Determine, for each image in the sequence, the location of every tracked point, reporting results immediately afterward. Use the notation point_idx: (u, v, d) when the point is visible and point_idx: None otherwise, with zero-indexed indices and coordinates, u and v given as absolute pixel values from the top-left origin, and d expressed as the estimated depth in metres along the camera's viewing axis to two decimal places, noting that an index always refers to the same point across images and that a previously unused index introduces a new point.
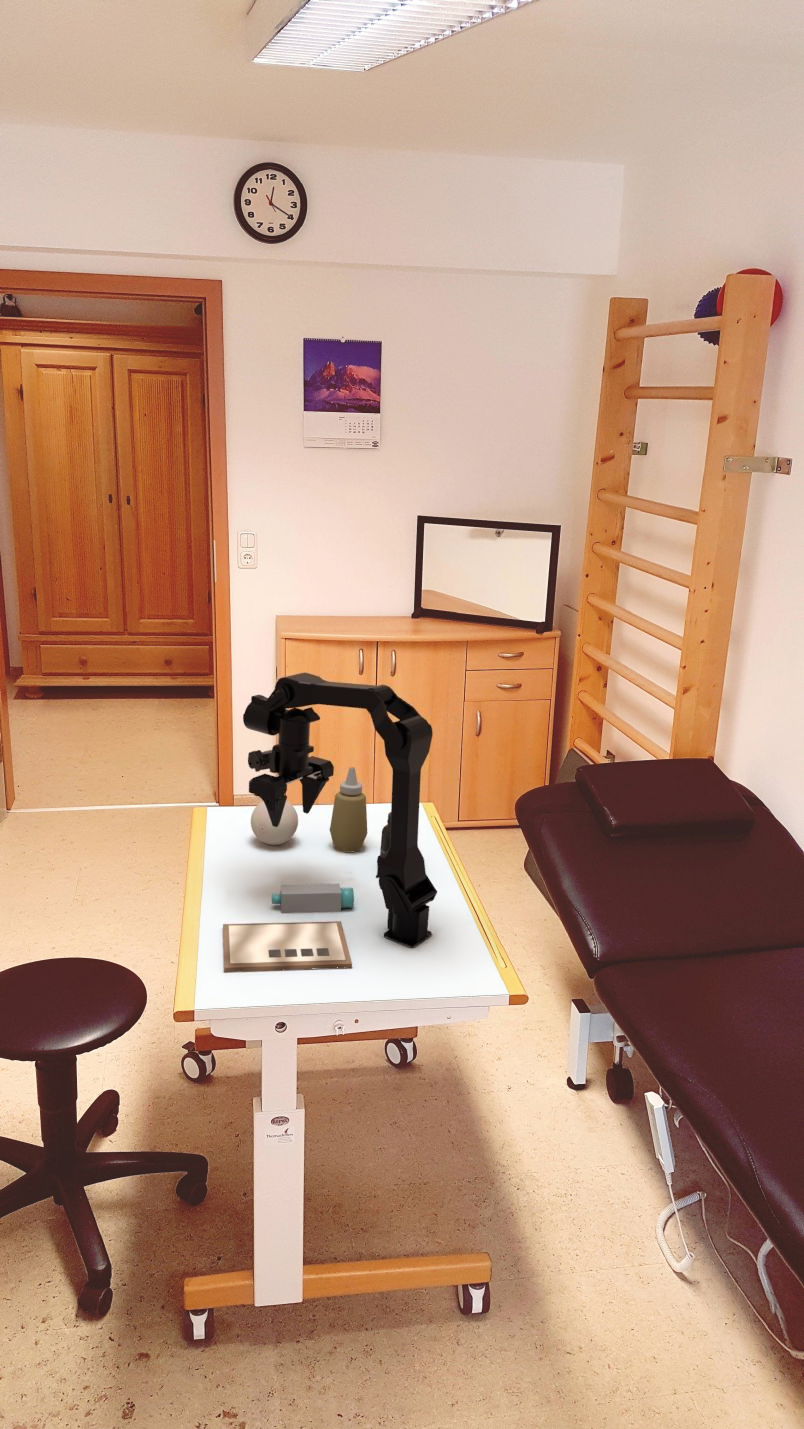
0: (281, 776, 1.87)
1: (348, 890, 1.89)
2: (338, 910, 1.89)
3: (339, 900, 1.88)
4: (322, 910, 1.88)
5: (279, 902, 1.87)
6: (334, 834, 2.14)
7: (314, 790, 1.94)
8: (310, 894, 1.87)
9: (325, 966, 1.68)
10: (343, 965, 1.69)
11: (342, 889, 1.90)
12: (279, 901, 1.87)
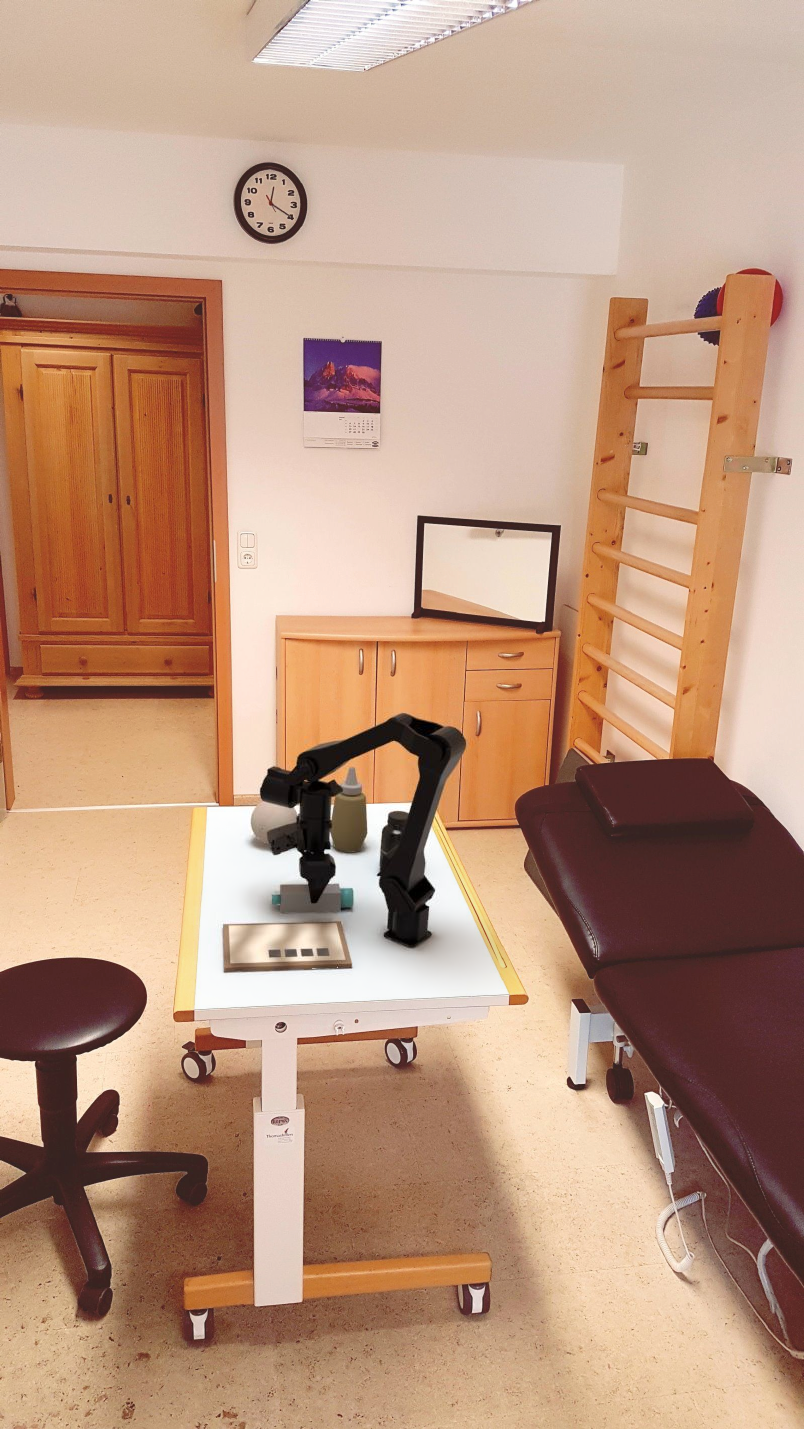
0: (315, 851, 1.83)
1: (348, 890, 1.89)
2: (337, 910, 1.88)
3: (338, 900, 1.88)
4: (322, 910, 1.88)
5: (279, 902, 1.87)
6: (334, 834, 2.14)
7: None
8: None
9: (325, 966, 1.68)
10: (343, 965, 1.69)
11: (342, 889, 1.90)
12: (279, 901, 1.87)
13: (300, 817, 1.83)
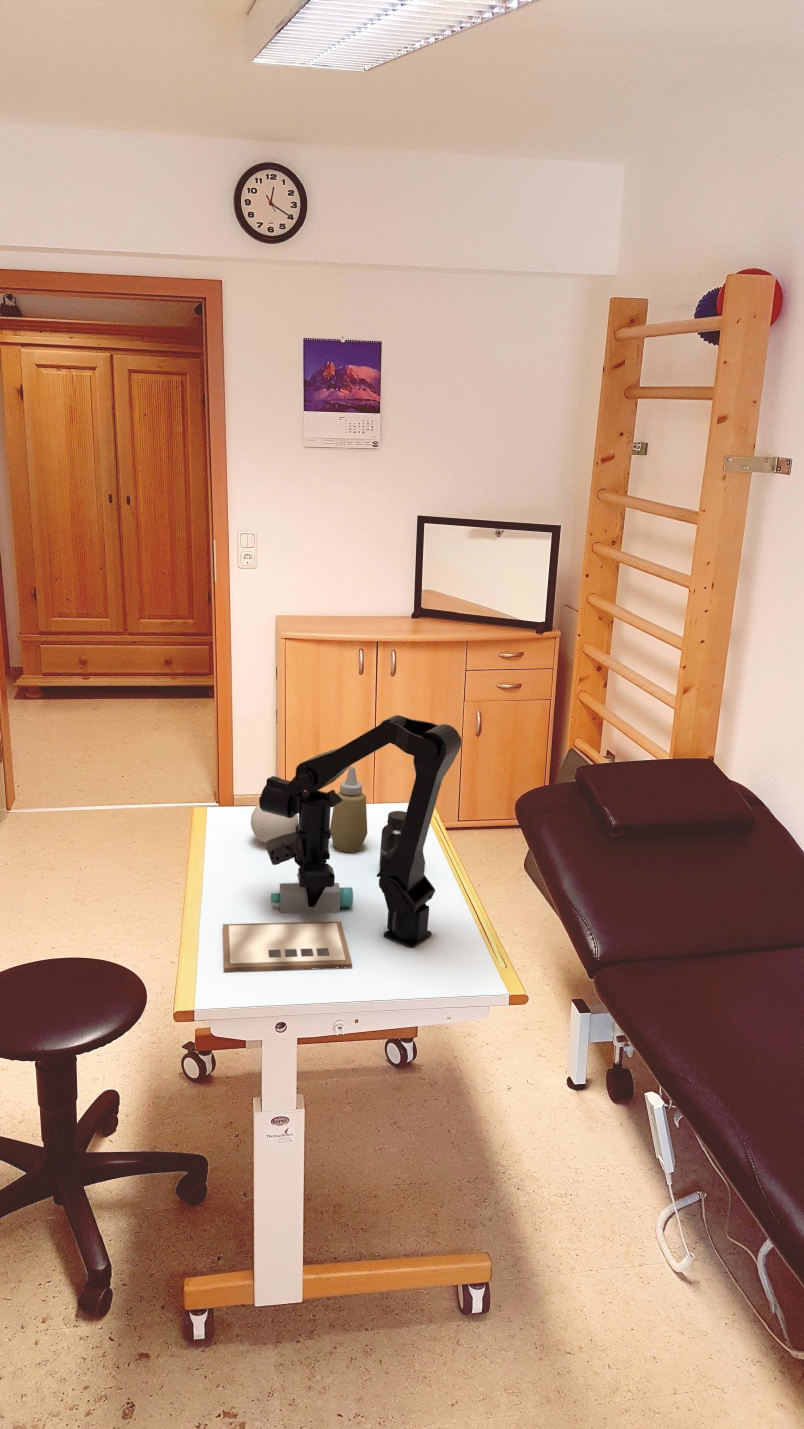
0: (314, 861, 1.84)
1: (348, 890, 1.89)
2: (336, 909, 1.88)
3: (338, 900, 1.88)
4: (321, 909, 1.88)
5: (278, 901, 1.87)
6: (334, 834, 2.14)
7: None
8: None
9: (325, 966, 1.68)
10: (343, 965, 1.69)
11: (341, 888, 1.90)
12: (278, 900, 1.87)
13: (299, 827, 1.84)
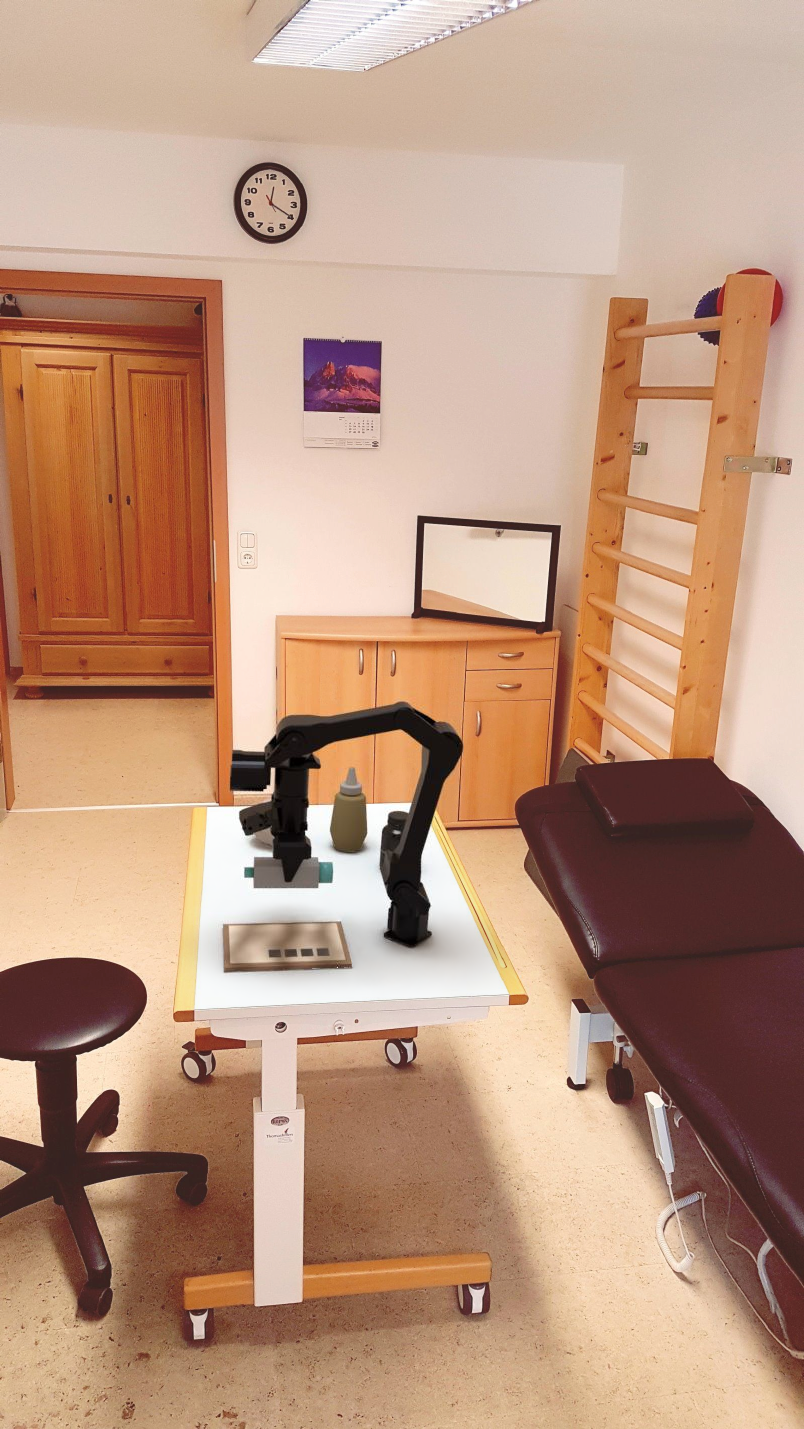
0: (291, 832, 1.69)
1: (327, 864, 1.75)
2: (315, 885, 1.74)
3: (316, 875, 1.73)
4: (298, 885, 1.73)
5: (251, 875, 1.73)
6: (334, 834, 2.14)
7: None
8: None
9: (325, 966, 1.68)
10: (343, 965, 1.69)
11: (320, 863, 1.75)
12: (251, 874, 1.73)
13: (275, 795, 1.70)
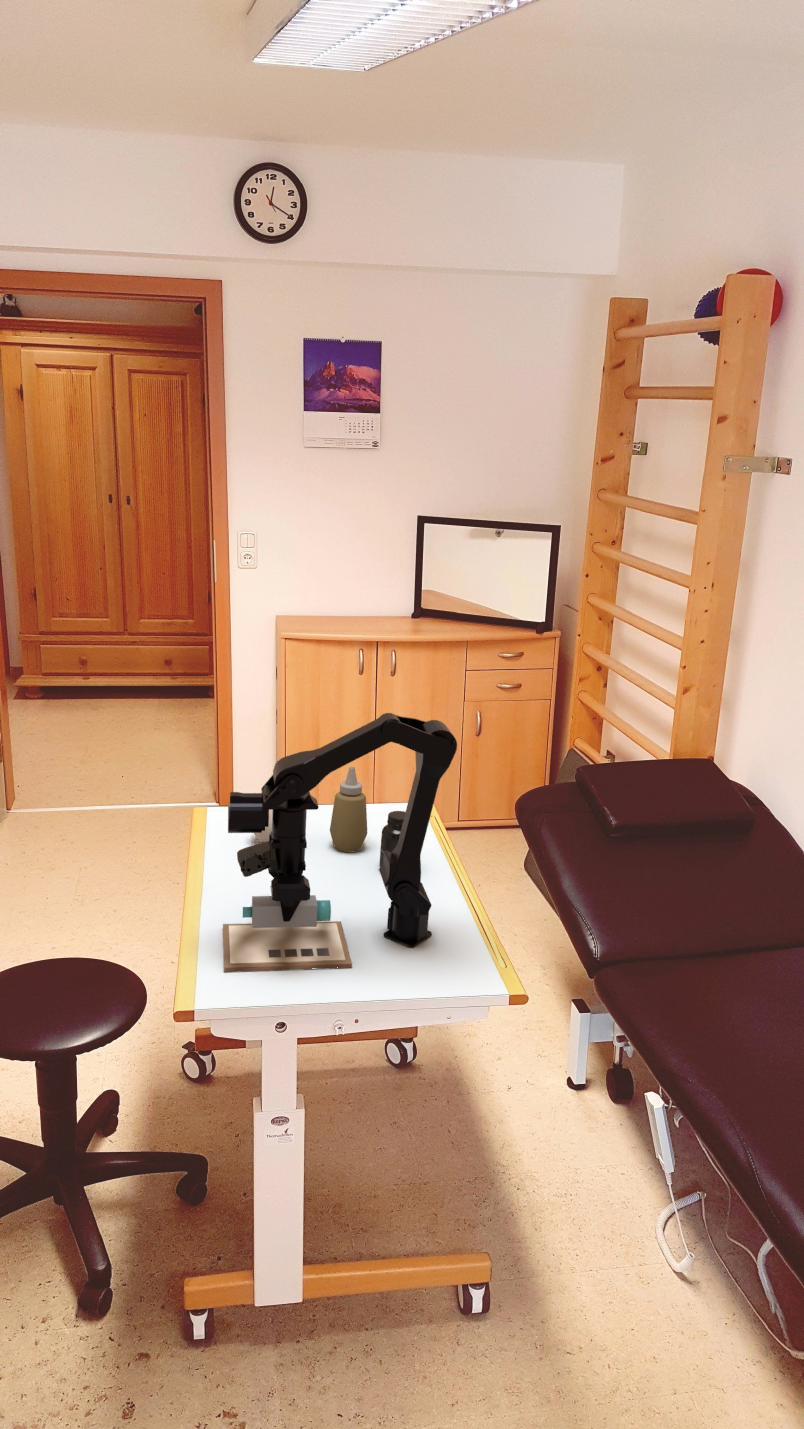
0: (289, 873, 1.70)
1: (325, 903, 1.76)
2: (313, 924, 1.75)
3: (314, 914, 1.75)
4: (296, 924, 1.75)
5: (250, 915, 1.74)
6: (334, 834, 2.14)
7: None
8: None
9: (325, 966, 1.68)
10: (343, 965, 1.69)
11: (318, 901, 1.76)
12: (250, 914, 1.74)
13: (272, 836, 1.71)
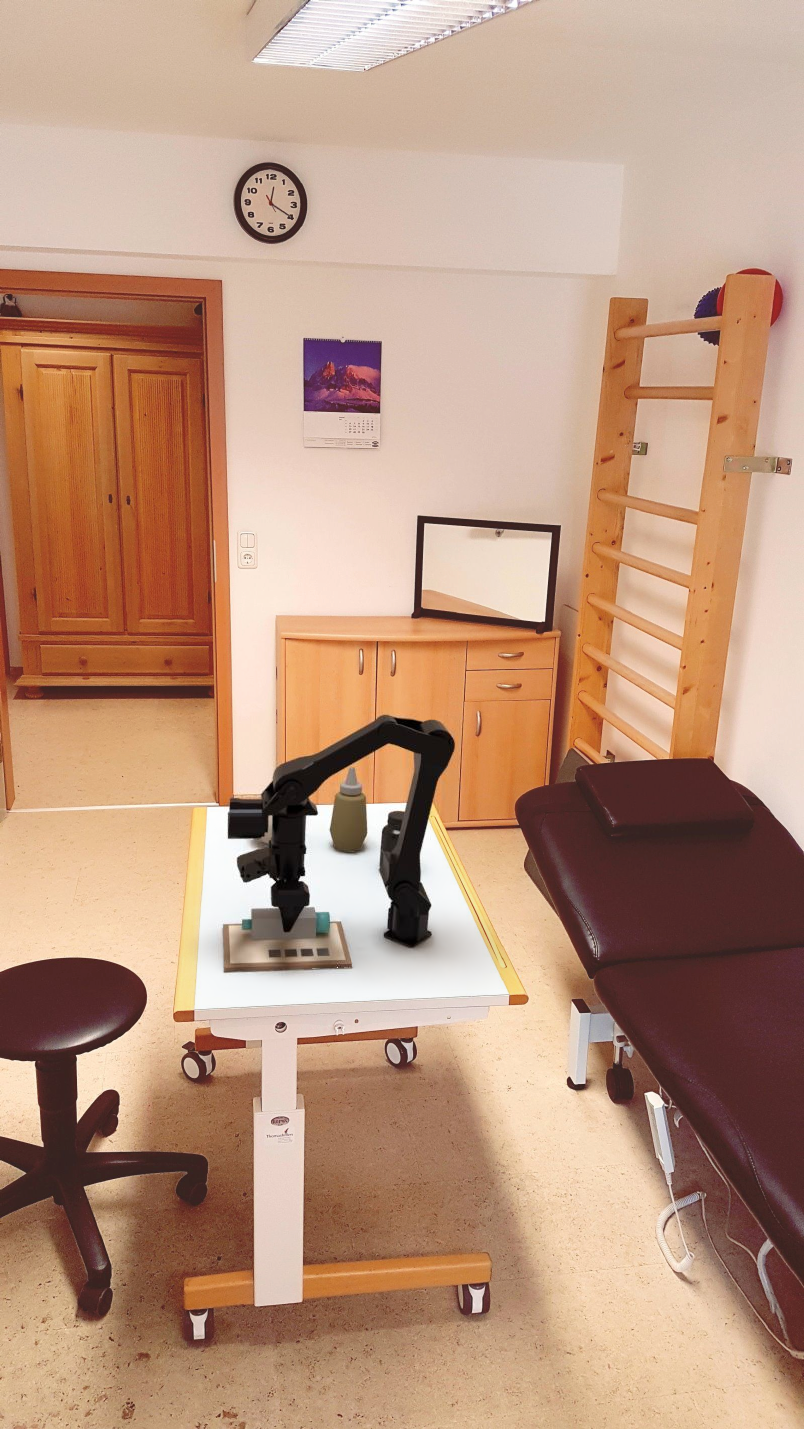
0: (288, 879, 1.71)
1: (324, 915, 1.77)
2: (312, 935, 1.76)
3: (314, 926, 1.75)
4: (296, 936, 1.75)
5: (249, 928, 1.75)
6: (334, 834, 2.14)
7: None
8: None
9: (325, 966, 1.68)
10: (343, 965, 1.69)
11: (317, 913, 1.77)
12: (249, 927, 1.74)
13: (272, 842, 1.71)
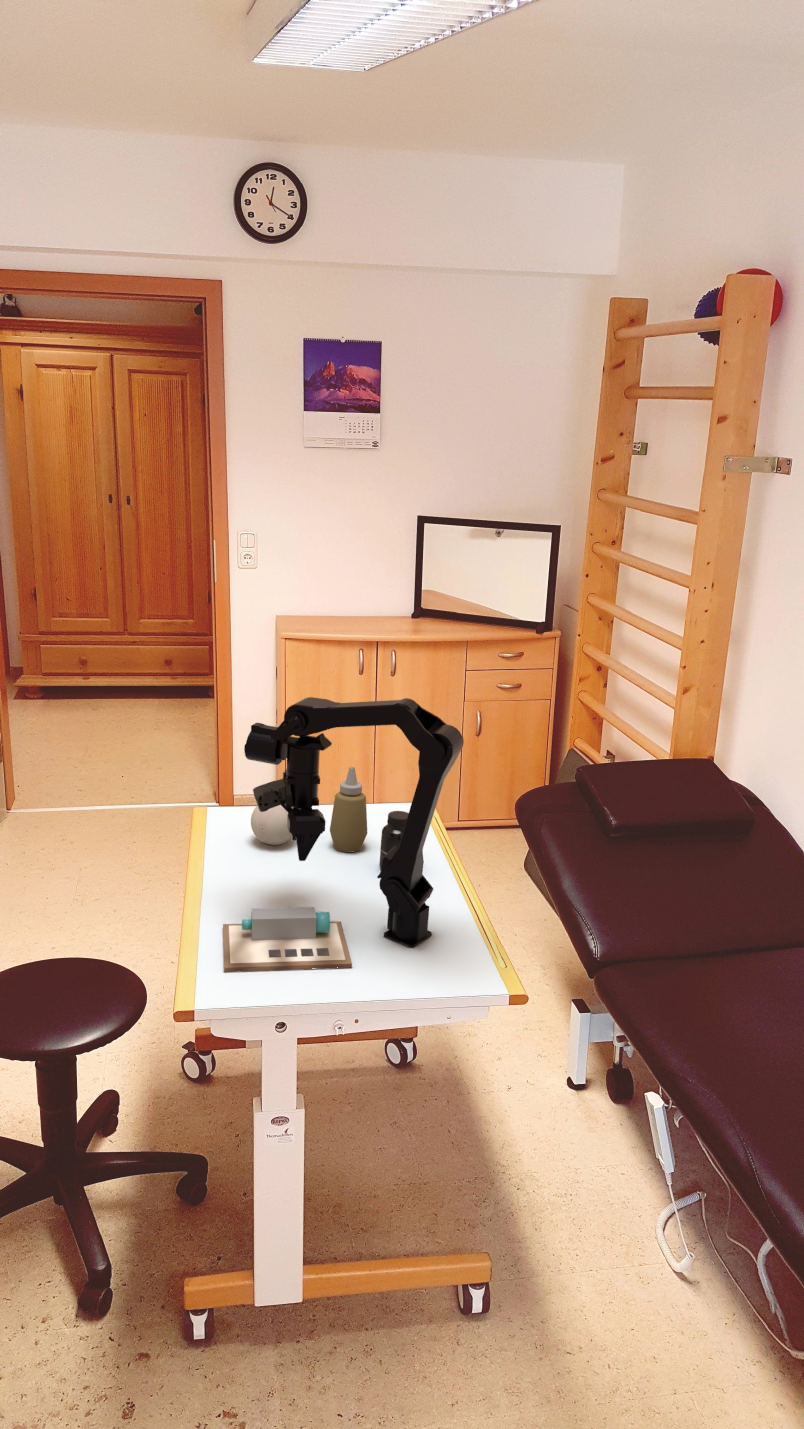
0: (303, 807, 1.79)
1: (324, 915, 1.77)
2: (312, 935, 1.76)
3: (314, 926, 1.75)
4: (296, 936, 1.75)
5: (249, 928, 1.75)
6: (334, 834, 2.14)
7: None
8: (283, 920, 1.74)
9: (325, 966, 1.68)
10: (343, 965, 1.69)
11: (317, 913, 1.77)
12: (249, 927, 1.74)
13: (287, 773, 1.79)
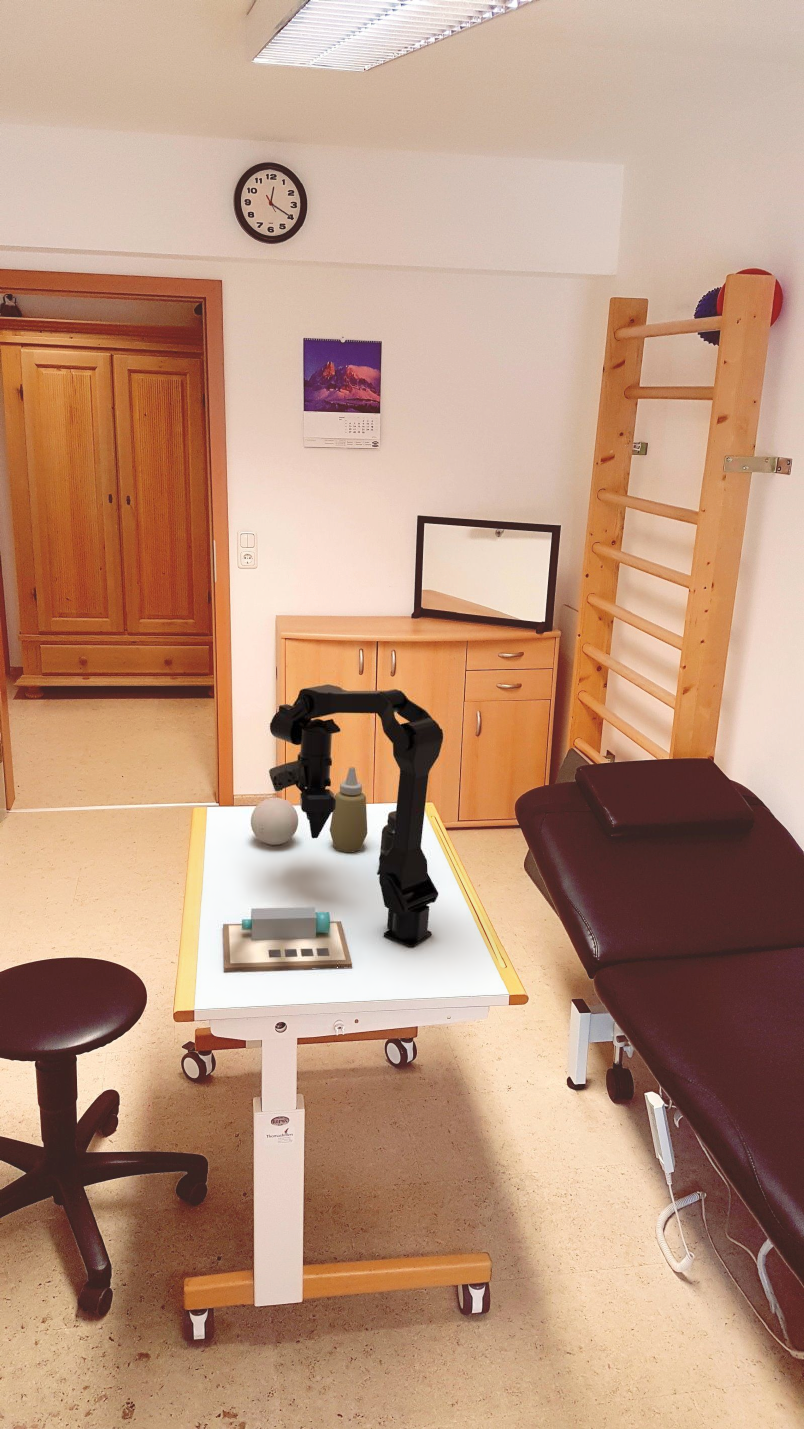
0: (316, 788, 1.89)
1: (324, 915, 1.77)
2: (312, 935, 1.76)
3: (314, 926, 1.75)
4: (296, 936, 1.75)
5: (249, 928, 1.75)
6: (334, 834, 2.14)
7: None
8: (283, 920, 1.74)
9: (325, 966, 1.68)
10: (343, 965, 1.69)
11: (317, 913, 1.77)
12: (249, 927, 1.74)
13: (301, 754, 1.90)
